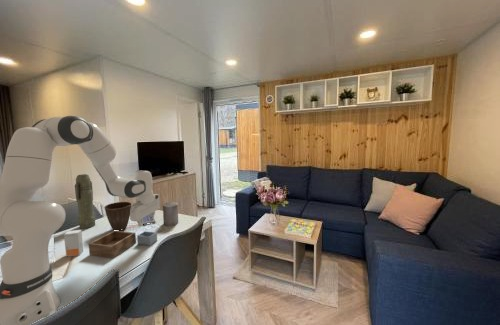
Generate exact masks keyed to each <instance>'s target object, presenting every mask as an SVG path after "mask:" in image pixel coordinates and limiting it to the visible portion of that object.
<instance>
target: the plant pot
mask: <svg viewBox="0 0 500 325" xmlns="http://www.w3.org/2000/svg"><path fill="white" fill-rule="evenodd" d="M131 207H132V202H130V201H117V202H112V203H109V204H106V205H105V206H104V207H103V208H104V211H105V215H106V218H107V221H108V224H109V225H110V227H111V229H112V231H113V230H121V229H124V228H126V229H127V227H128V224H129V221H130V210H131ZM124 230H125V229H124Z"/></svg>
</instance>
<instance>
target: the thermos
mask: <svg viewBox="0 0 500 325" xmlns="http://www.w3.org/2000/svg"><path fill="white" fill-rule="evenodd" d="M74 193H75V199H76V204H77V207H78V208H77V209H78V218H77V220H78V221H77V222H78V225H79V230H86V229H91V228H93V227H95V226H96V215H95V213H94V202H93V200H94V190H93V182H92V181H91V178H90V176H89V174H85V173H83V174H78V175H76V178H75V184H74Z"/></svg>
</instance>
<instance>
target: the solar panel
mask: <svg viewBox="0 0 500 325" xmlns="http://www.w3.org/2000/svg"><path fill="white" fill-rule="evenodd" d="M150 216H151V214H149V215H147V216H145V217H143V218H142V219H141V222H143V224H147V223H153V224H156V220H155V218H154V219H153V220H150Z"/></svg>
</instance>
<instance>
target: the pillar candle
mask: <svg viewBox="0 0 500 325" xmlns="http://www.w3.org/2000/svg"><path fill="white" fill-rule="evenodd" d="M178 206H179V205H178V202H176V201H170V202H169V201H168V202H164V203H163V204H162V213H163V225H164V226H167V227H168V226H169V227H170V226H175V225H177V224H178V223H179V210H178V209H179V208H178Z"/></svg>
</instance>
